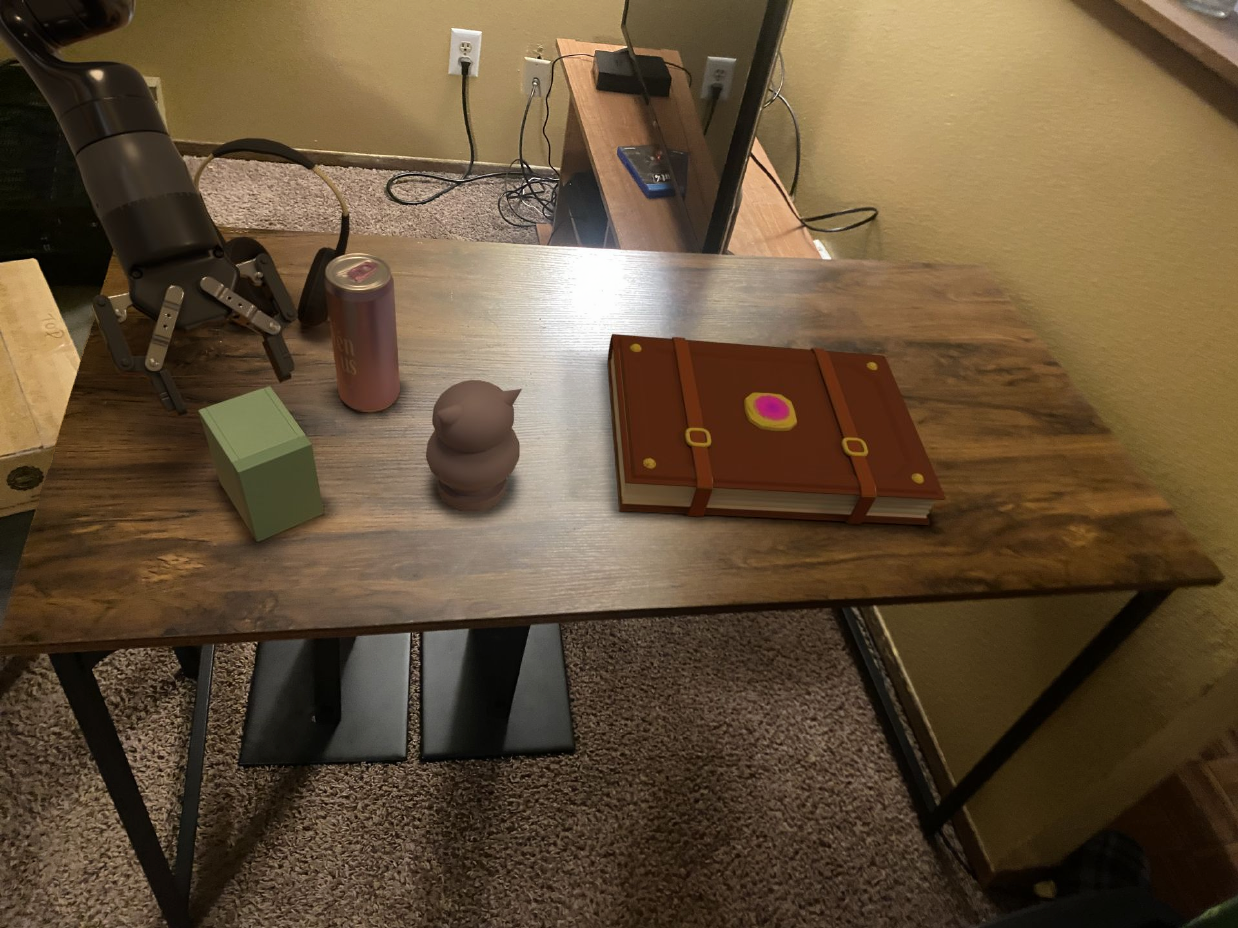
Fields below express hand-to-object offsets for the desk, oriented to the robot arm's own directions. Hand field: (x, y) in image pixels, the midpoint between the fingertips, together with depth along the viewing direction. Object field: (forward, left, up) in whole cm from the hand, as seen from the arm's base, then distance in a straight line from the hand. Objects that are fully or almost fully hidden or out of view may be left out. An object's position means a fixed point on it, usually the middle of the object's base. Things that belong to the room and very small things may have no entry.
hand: (236, 397), depth 69 cm
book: (+48, -13, -10) cm, 51 cm away
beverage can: (+13, +7, -10) cm, 17 cm away
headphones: (+9, +22, -10) cm, 25 cm away
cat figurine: (+18, -8, -10) cm, 22 cm away
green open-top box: (+1, -3, -9) cm, 10 cm away
